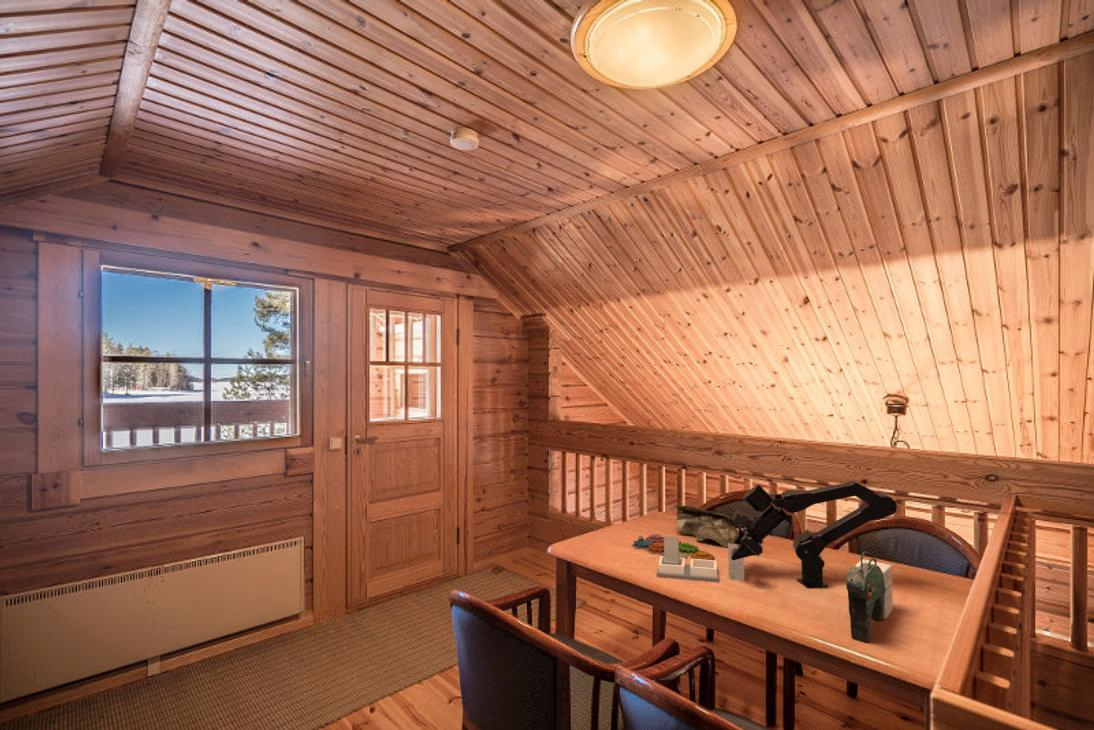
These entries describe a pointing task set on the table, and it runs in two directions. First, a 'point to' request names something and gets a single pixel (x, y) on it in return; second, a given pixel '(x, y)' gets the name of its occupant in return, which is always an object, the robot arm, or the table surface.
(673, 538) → the billet
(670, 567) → the double socket tray
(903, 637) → the table surface
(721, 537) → the hollow geode rock
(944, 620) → the table surface
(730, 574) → the block
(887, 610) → the supplement box
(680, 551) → the gear puzzle
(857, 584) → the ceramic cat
